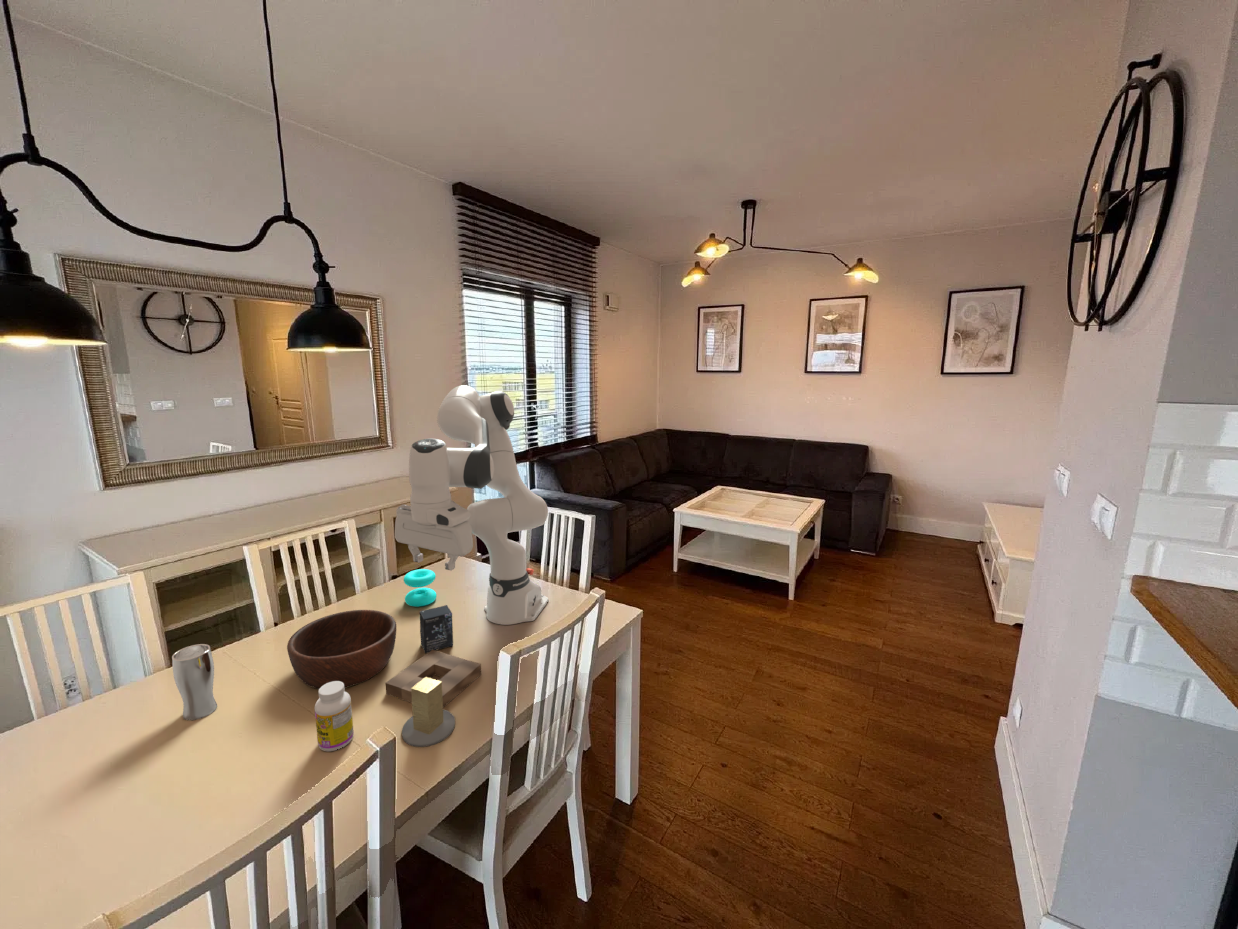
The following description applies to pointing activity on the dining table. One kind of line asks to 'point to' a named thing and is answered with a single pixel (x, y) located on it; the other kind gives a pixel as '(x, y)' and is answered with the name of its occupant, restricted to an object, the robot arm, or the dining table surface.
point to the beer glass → (195, 680)
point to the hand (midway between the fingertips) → (434, 565)
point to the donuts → (420, 594)
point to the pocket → (435, 663)
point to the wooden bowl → (342, 647)
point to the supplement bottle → (333, 717)
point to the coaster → (424, 739)
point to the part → (427, 705)
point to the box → (436, 628)
